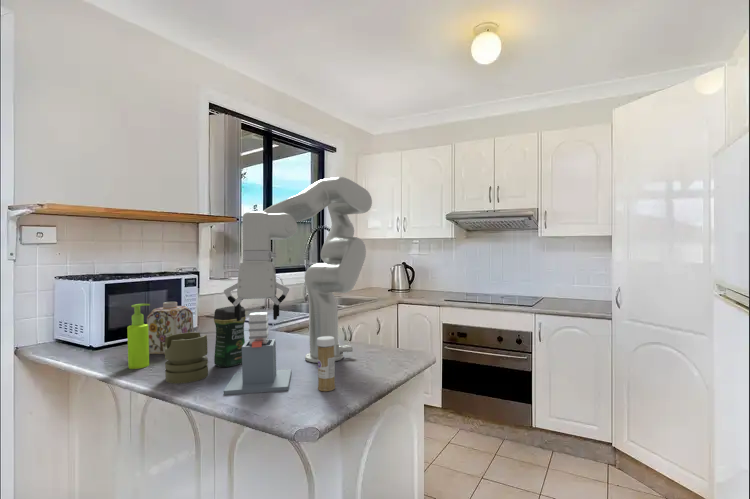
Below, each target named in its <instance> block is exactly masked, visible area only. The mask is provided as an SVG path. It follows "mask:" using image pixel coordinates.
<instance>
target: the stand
mask: <svg viewBox="0 0 750 499" xmlns="http://www.w3.org/2000/svg"><path fill="white" fill-rule="evenodd" d="M268 340H269V343H268V345H262V341H255V342H252V346H249V344H250V339H248V340H246V341H245V343H244V345H243V346H242V363H241V371H239V372H235V373H234V374H233V376H232V377H231V379H230V380H229V382H228V384H227V385H226V386H225V388H224V389H223V396H224V395H225V396H226V395H227V396H228V395H241V394H244V395H245V394H255V393H267V392H269V393H270V392H271V393H273V392H286V391H288V390H289V387H290V382H291V377H292V368H288V369H277V350H276V348H277V347H276V346H277V343H276V342H277V341H276V338H271V339H269V338H268Z"/></svg>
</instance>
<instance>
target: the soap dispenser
mask: <svg viewBox="0 0 750 499" xmlns="http://www.w3.org/2000/svg"><path fill="white" fill-rule="evenodd" d="M143 306H144V307H145V306H151V304H150V303H136V304H132V305H131V308H133V309H134V310H133V312H134V313H133V314H132V315H131V325H128V326H127V328H126V329H127V333H126V334H127V335H126V336H127V366H128V367H127V368H128V369H130V370H137V369H143V368H147V367H149V366H150V354H149V335H148V325H147V323H144V322H145V320H144V319H145V318H144V314H143V313H141V307H143Z"/></svg>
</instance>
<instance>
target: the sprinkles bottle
mask: <svg viewBox="0 0 750 499" xmlns="http://www.w3.org/2000/svg"><path fill="white" fill-rule="evenodd" d="M334 344H335V340H334V337H331V336H322V337H319V338H317V346H318V363H317V379H318V381H317V382H318V385H317V389H318V390H319V391H321V392H332V391H333V390H335V389H336V382H335V374H336V370H335V369H336V368H335V367H336V366H335V362H336V361H335V359H334Z"/></svg>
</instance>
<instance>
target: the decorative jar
mask: <svg viewBox="0 0 750 499" xmlns="http://www.w3.org/2000/svg"><path fill="white" fill-rule="evenodd" d="M146 324H147V325H148V335H149V355H165V337H167V336H170V335H174V334H180V333H189V332H195V331H194V328H195V327H194V314H193V311H192V310H191V309H190V308H189V307H188V306H186V305H178V302H177V301H166V302H163V303H162V306H160V307H157V308H154V309H153V310H151V312H150V313H149V314H148V315H147V316H146Z"/></svg>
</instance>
